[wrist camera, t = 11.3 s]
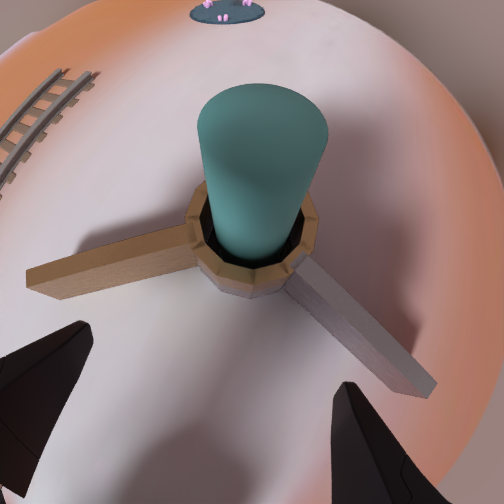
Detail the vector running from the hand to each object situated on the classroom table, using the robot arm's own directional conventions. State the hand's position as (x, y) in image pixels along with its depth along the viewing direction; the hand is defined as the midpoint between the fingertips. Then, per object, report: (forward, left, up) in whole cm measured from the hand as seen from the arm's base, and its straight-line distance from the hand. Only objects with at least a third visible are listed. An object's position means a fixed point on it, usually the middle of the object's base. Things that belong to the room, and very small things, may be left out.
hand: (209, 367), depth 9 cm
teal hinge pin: (+7, +4, -9) cm, 12 cm away
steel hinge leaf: (+7, -2, -9) cm, 12 cm away
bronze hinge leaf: (+2, +6, -9) cm, 12 cm away
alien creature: (+32, +35, -10) cm, 48 cm away
